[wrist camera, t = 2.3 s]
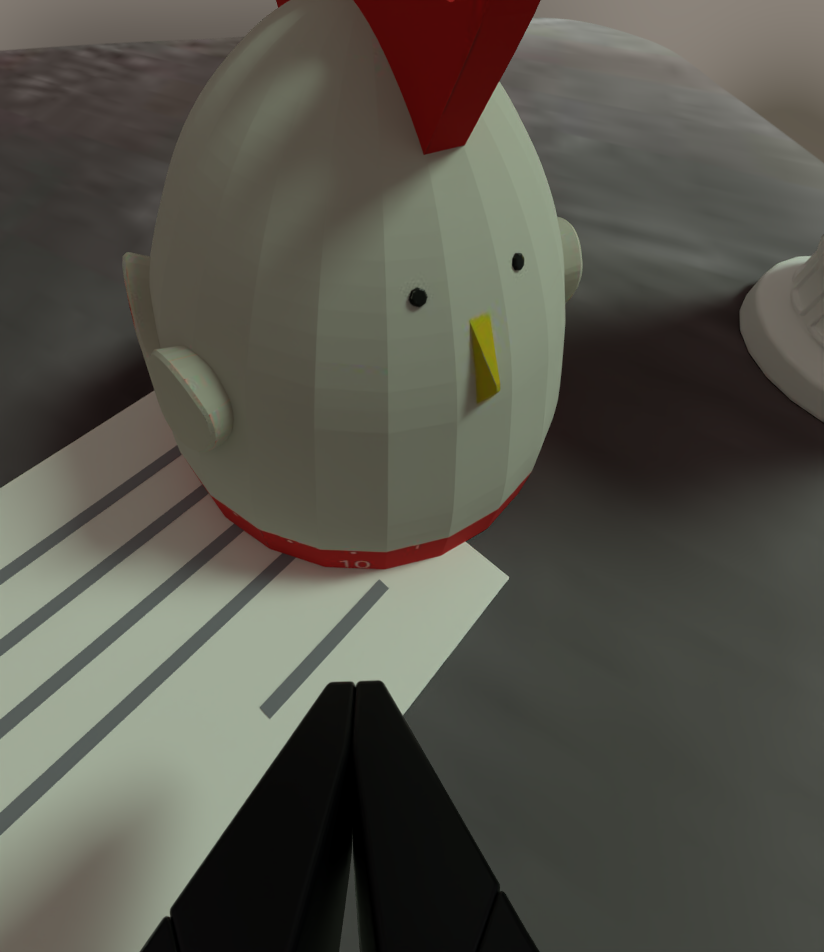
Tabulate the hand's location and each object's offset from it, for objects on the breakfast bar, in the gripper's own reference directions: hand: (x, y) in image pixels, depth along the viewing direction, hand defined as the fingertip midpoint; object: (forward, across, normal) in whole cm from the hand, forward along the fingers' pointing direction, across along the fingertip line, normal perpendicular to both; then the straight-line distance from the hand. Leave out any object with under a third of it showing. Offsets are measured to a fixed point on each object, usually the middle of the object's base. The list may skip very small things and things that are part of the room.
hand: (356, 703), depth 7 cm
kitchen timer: (+13, 0, -3) cm, 13 cm away
